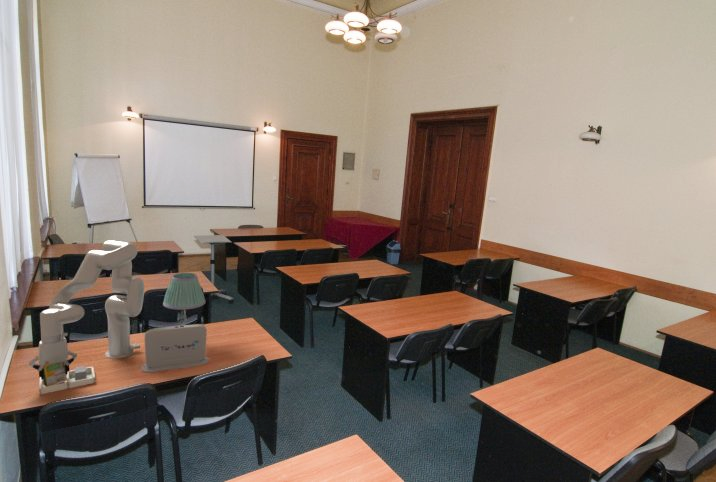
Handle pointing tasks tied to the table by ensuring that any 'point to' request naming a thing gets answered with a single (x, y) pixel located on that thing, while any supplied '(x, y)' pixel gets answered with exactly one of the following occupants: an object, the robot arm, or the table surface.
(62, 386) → the divided tray
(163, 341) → the wireless router
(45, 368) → the crayon box
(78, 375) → the grey block
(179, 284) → the table lamp
